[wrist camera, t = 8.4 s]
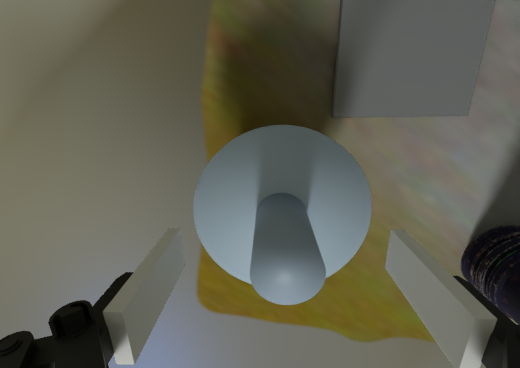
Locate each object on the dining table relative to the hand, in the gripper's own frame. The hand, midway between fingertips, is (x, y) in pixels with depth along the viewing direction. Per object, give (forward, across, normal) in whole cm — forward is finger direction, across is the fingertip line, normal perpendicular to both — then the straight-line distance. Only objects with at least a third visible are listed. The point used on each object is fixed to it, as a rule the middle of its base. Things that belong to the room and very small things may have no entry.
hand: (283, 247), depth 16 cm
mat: (+15, +13, +14) cm, 24 cm away
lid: (+6, 0, 0) cm, 6 cm away
